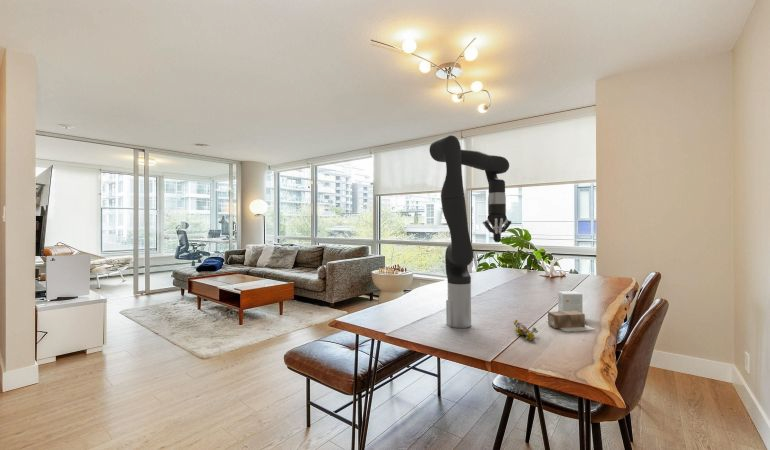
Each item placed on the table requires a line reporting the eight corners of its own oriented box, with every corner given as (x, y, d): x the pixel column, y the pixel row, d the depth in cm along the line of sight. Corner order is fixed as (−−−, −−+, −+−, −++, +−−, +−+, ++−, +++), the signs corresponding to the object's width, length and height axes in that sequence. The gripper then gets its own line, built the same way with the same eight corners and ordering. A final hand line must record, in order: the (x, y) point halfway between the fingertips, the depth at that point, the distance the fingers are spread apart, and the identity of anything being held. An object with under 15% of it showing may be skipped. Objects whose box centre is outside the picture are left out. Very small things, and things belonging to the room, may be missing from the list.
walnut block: (555, 315, 136) (584, 314, 137) (548, 311, 140) (576, 310, 142) (555, 328, 136) (584, 326, 137) (548, 324, 141) (576, 323, 142)
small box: (577, 315, 154) (577, 291, 154) (582, 318, 148) (582, 293, 148) (557, 314, 155) (557, 290, 155) (563, 318, 149) (562, 293, 149)
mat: (565, 331, 133) (565, 330, 133) (546, 321, 146) (546, 320, 146) (595, 329, 134) (595, 329, 134) (573, 319, 147) (573, 319, 147)
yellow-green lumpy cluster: (526, 323, 138) (544, 333, 123) (518, 333, 138) (535, 345, 123) (516, 314, 138) (532, 324, 123) (507, 325, 138) (523, 336, 123)
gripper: (485, 203, 153) (486, 243, 154) (515, 202, 154) (515, 242, 155) (479, 203, 161) (479, 241, 161) (507, 203, 162) (507, 241, 162)
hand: (497, 241), depth 158 cm, fingers closed
